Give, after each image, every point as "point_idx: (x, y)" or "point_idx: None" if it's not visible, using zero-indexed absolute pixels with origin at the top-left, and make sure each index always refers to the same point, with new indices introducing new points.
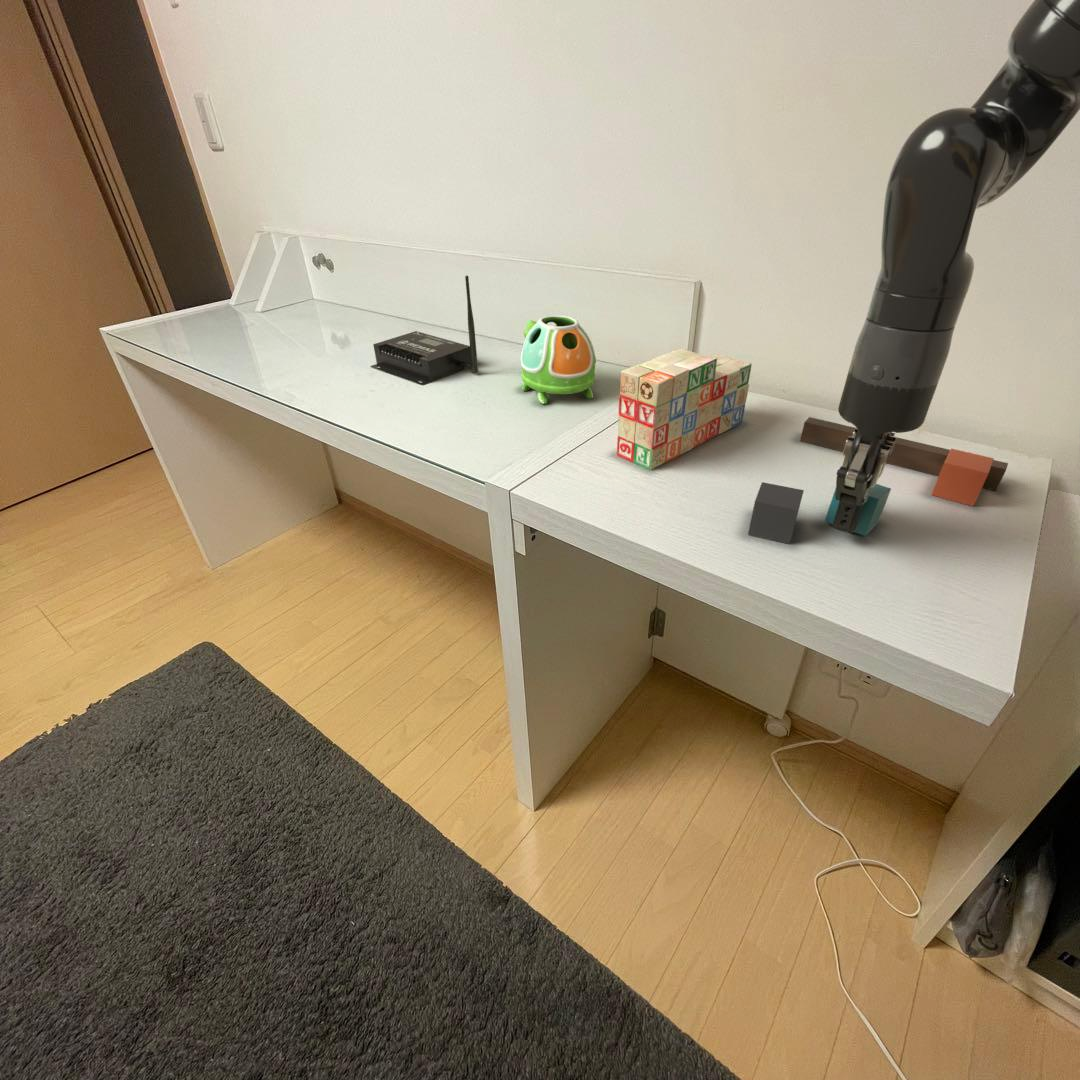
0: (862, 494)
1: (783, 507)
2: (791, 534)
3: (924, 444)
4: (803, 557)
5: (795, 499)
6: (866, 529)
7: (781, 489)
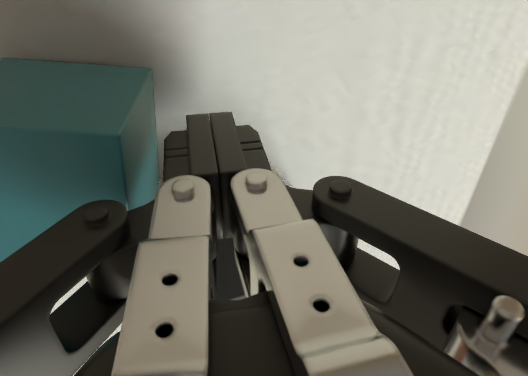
0: (451, 228)
1: None
2: None
3: None
4: (332, 152)
5: None
6: (148, 80)
7: None
